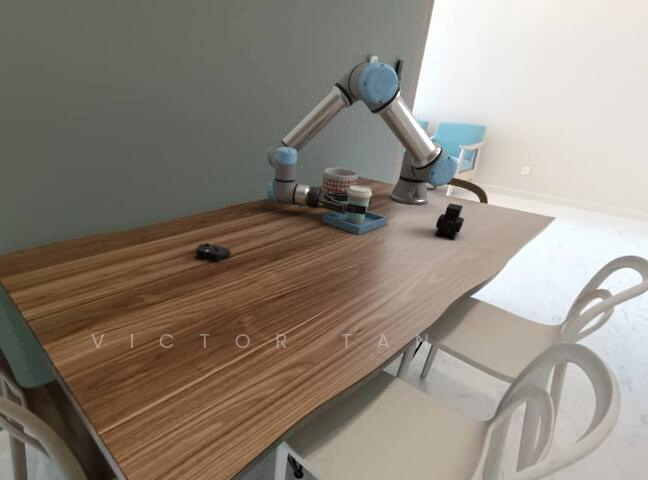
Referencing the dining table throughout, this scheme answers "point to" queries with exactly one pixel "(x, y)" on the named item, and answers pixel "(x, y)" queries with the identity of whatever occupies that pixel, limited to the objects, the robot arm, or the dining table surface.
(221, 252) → the game controller
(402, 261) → the dining table surface
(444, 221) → the toy
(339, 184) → the planter
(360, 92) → the robot arm
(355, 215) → the coffee cup
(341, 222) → the tray
